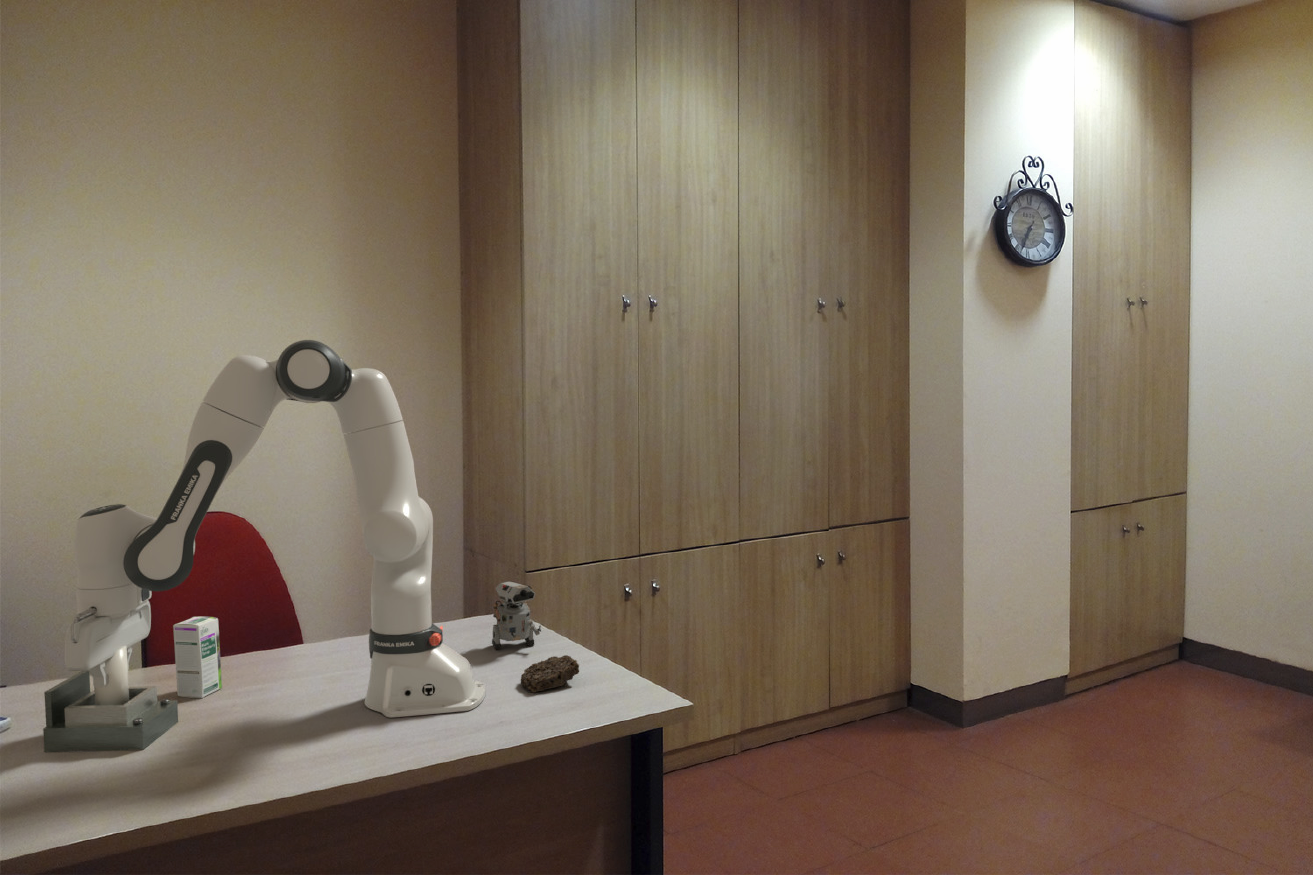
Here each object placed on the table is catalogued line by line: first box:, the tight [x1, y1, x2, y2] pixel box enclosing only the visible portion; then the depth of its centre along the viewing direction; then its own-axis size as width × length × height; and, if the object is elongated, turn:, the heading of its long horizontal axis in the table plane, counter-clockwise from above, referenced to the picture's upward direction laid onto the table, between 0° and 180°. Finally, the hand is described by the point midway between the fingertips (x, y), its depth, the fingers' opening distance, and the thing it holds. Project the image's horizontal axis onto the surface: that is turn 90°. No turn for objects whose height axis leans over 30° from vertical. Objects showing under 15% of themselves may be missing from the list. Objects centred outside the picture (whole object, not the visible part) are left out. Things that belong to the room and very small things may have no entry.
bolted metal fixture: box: [42, 670, 179, 753], centre depth 155 cm, size 16×12×10 cm
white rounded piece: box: [93, 646, 130, 705], centre depth 155 cm, size 7×5×10 cm
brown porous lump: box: [520, 655, 580, 693], centre depth 181 cm, size 12×10×5 cm
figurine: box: [491, 581, 542, 651], centre depth 204 cm, size 9×12×15 cm
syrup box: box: [172, 615, 223, 699], centre depth 176 cm, size 6×6×14 cm
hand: (111, 679), depth 155 cm, fingers closed on white rounded piece, 5 cm apart
